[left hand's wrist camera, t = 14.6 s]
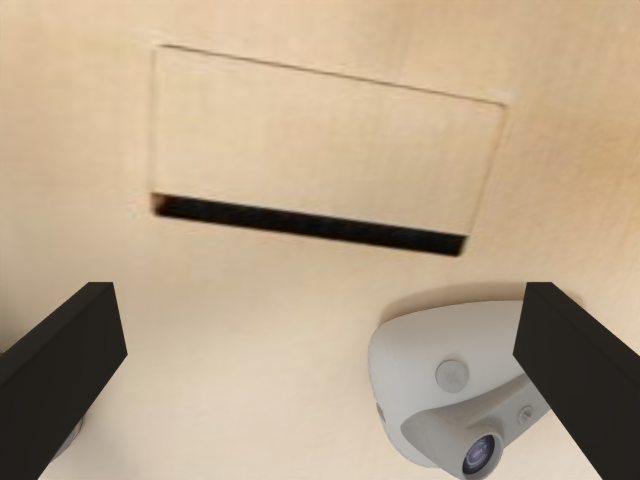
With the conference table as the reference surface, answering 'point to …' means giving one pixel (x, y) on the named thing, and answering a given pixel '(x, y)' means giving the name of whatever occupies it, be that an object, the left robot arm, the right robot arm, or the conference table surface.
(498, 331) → the projector
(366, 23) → the conference table surface
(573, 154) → the conference table surface
